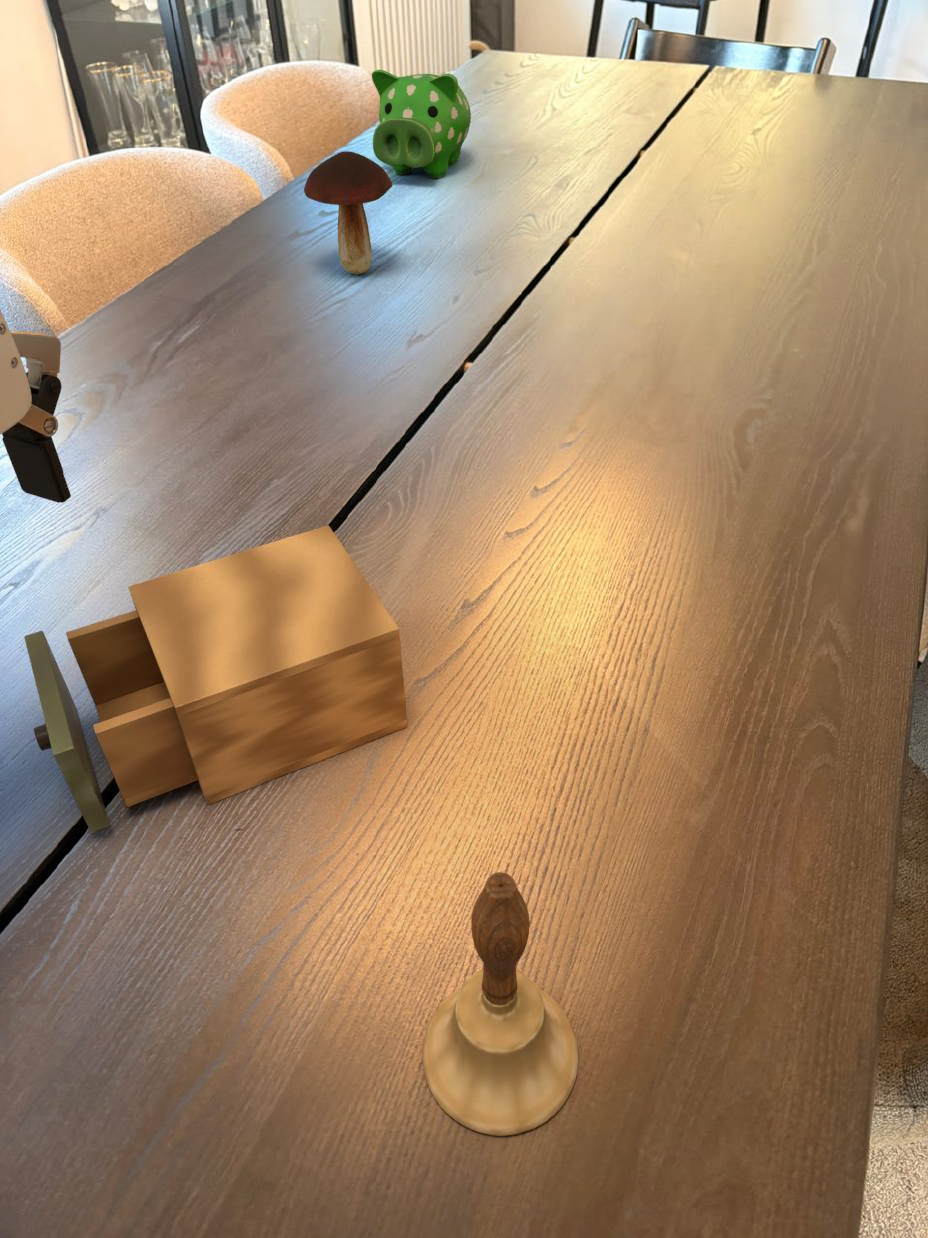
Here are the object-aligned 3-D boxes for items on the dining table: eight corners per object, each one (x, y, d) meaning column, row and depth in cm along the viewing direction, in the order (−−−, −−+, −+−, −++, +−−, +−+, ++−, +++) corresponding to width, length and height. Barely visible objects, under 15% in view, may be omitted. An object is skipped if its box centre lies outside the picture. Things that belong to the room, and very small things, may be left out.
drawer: (71, 841, 60) (31, 762, 55) (42, 720, 68) (4, 641, 62) (292, 755, 65) (275, 676, 60) (242, 652, 72) (222, 573, 67)
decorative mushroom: (366, 296, 121) (354, 171, 111) (298, 278, 126) (281, 157, 115) (414, 265, 128) (407, 145, 118) (348, 250, 132) (336, 133, 122)
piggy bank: (363, 183, 152) (354, 78, 142) (404, 149, 165) (398, 50, 155) (447, 191, 149) (444, 84, 139) (483, 156, 161) (482, 55, 151)
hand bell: (391, 1044, 51) (364, 880, 40) (506, 951, 55) (510, 778, 44) (492, 1174, 47) (493, 1028, 36) (611, 1062, 50) (644, 899, 40)
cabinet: (207, 805, 63) (175, 707, 57) (160, 683, 71) (127, 586, 65) (407, 726, 68) (399, 628, 61) (342, 621, 76) (328, 524, 70)
